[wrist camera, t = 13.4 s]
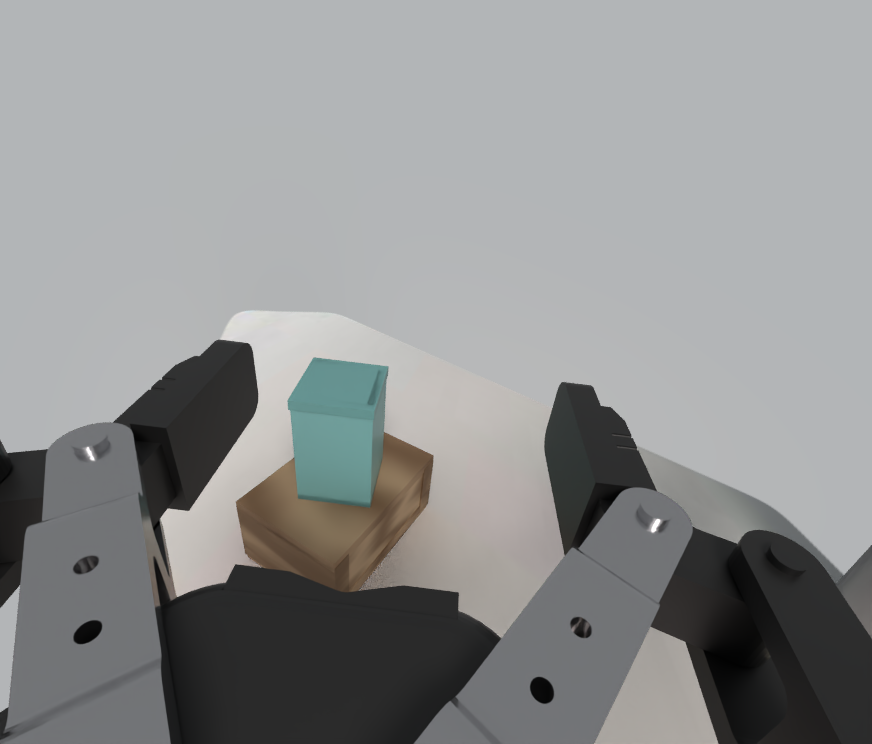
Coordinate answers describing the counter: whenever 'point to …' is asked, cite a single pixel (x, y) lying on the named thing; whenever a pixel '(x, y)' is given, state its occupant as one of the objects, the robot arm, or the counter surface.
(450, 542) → the counter surface
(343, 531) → the wooden crate
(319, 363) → the teal lidded bin
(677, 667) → the counter surface
